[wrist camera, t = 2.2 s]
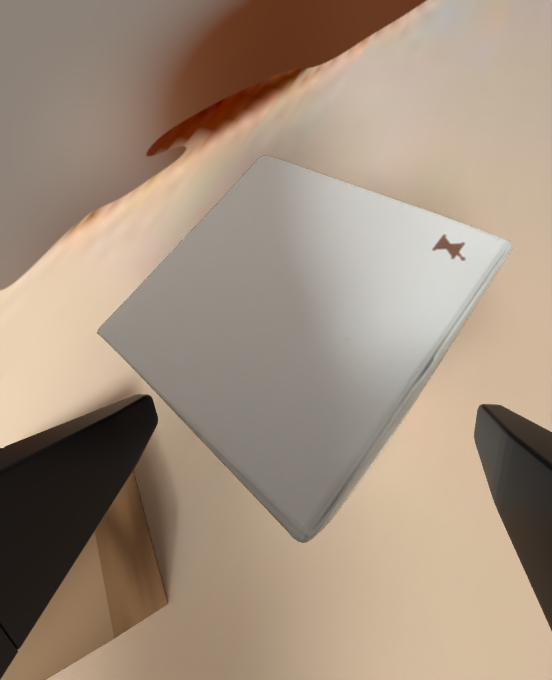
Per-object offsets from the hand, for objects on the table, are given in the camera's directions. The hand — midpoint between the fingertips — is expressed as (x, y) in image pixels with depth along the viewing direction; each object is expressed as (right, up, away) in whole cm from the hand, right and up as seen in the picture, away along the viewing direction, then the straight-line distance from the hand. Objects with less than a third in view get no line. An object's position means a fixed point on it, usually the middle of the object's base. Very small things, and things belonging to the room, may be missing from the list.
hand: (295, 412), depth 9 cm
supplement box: (+3, -2, +10) cm, 10 cm away
